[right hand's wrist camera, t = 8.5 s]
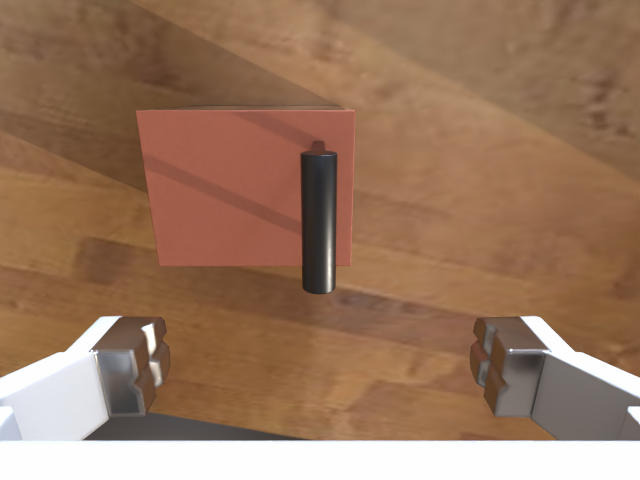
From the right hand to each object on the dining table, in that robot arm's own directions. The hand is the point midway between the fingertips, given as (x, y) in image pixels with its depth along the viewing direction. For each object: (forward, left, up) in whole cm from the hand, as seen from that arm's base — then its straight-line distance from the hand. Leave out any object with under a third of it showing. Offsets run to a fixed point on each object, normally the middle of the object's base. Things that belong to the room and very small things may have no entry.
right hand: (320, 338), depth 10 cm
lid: (+3, -3, -17) cm, 17 cm away
